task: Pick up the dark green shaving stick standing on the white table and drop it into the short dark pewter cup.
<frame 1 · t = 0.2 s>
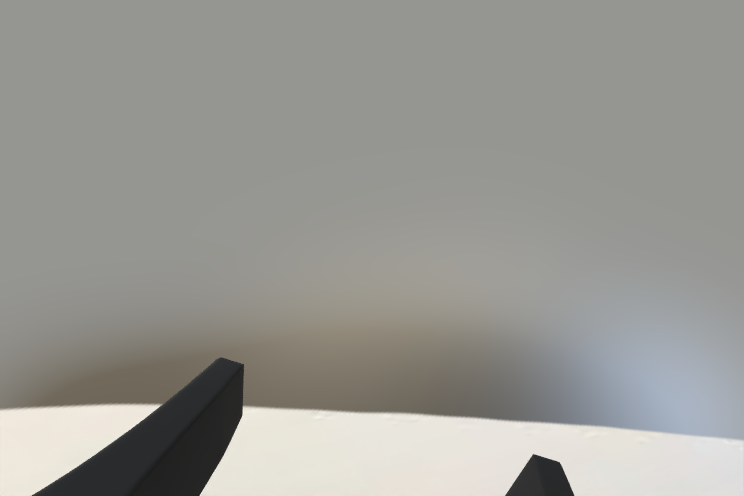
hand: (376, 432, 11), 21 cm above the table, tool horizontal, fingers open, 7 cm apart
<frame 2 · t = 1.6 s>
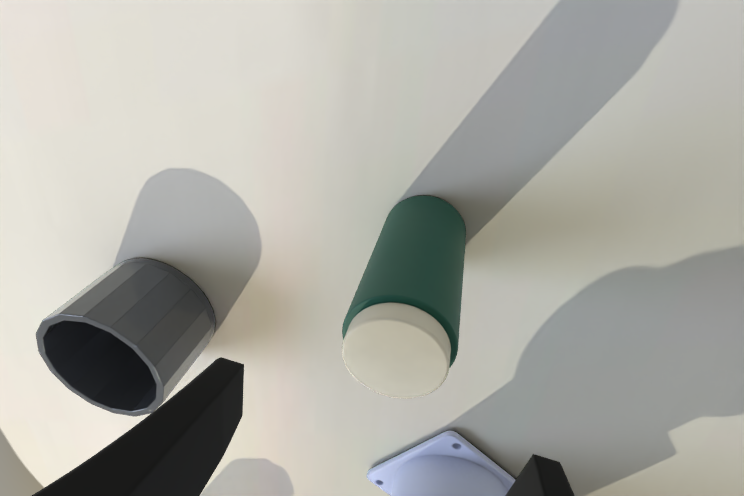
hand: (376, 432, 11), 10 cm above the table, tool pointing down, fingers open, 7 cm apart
cup: (162, 306, 26), on the table
shaving stick: (424, 232, 19), on the table
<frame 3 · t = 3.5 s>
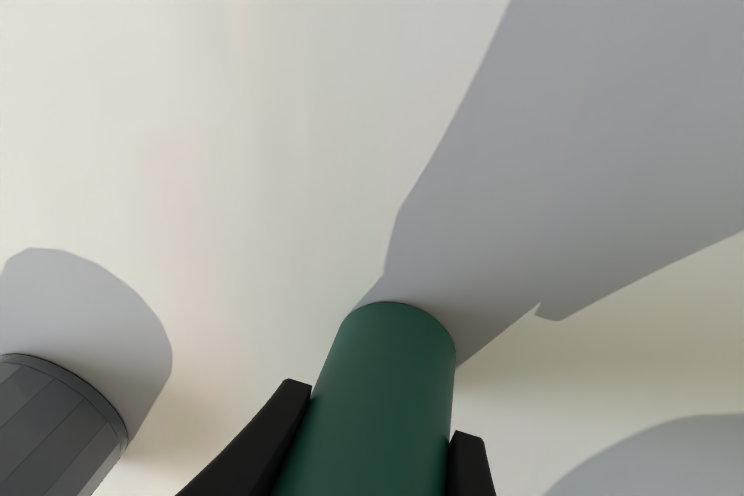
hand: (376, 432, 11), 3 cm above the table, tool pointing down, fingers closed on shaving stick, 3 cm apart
cup: (58, 410, 19), on the table
shaving stick: (395, 349, 13), on the table, touching gripper
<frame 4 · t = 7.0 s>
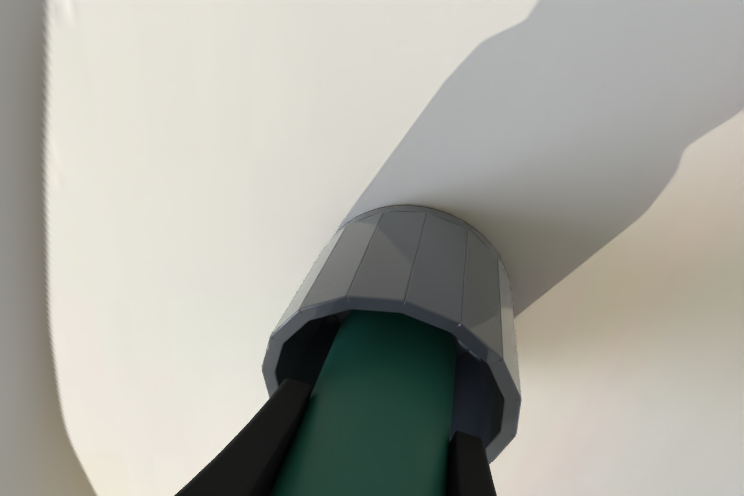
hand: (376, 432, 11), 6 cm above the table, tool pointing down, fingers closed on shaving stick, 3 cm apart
cup: (410, 290, 16), on the table
shaving stick: (395, 348, 13), point 3 cm above the table, touching gripper
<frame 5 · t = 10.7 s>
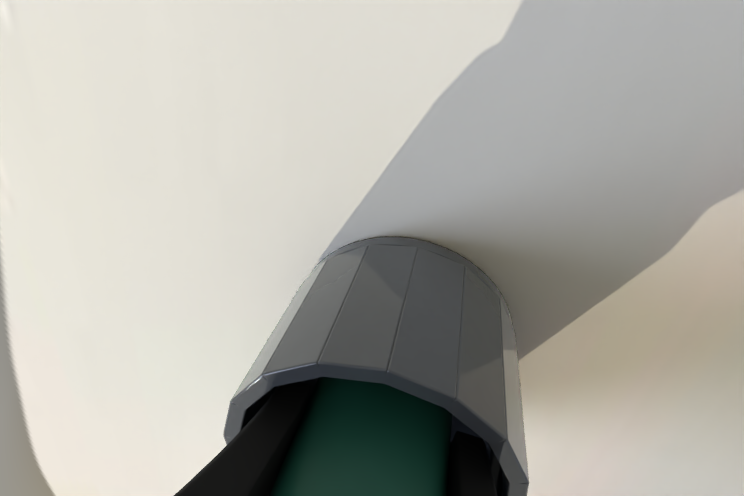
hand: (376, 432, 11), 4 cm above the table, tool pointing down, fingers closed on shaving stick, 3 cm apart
cup: (401, 329, 14), on the table
shaving stick: (395, 347, 13), point 1 cm above the table, touching gripper
when the fingers open (6 cm above the table, at t = 15.8 s): shaving stick drops 2 cm, resting on cup.
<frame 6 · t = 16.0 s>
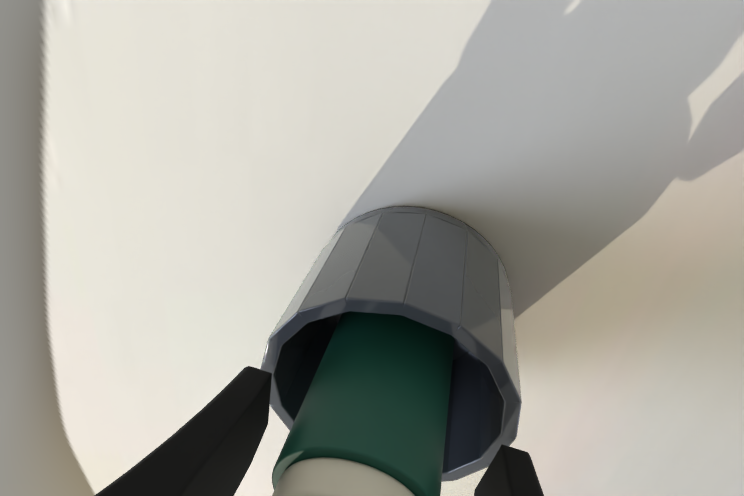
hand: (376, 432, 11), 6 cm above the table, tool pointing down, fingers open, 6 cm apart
cup: (410, 292, 16), on the table
shaving stick: (405, 298, 15), point 1 cm above the table, touching cup
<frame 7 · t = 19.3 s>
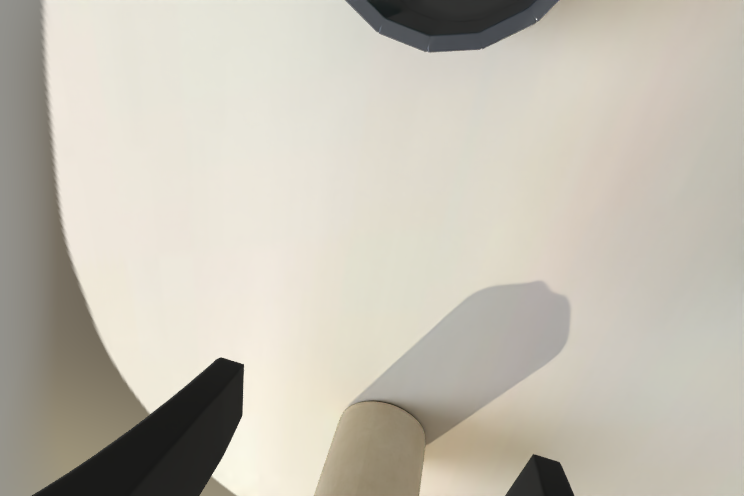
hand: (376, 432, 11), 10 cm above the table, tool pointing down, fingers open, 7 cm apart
candle: (382, 427, 27), on the table
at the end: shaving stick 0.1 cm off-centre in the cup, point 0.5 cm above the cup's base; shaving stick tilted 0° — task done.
